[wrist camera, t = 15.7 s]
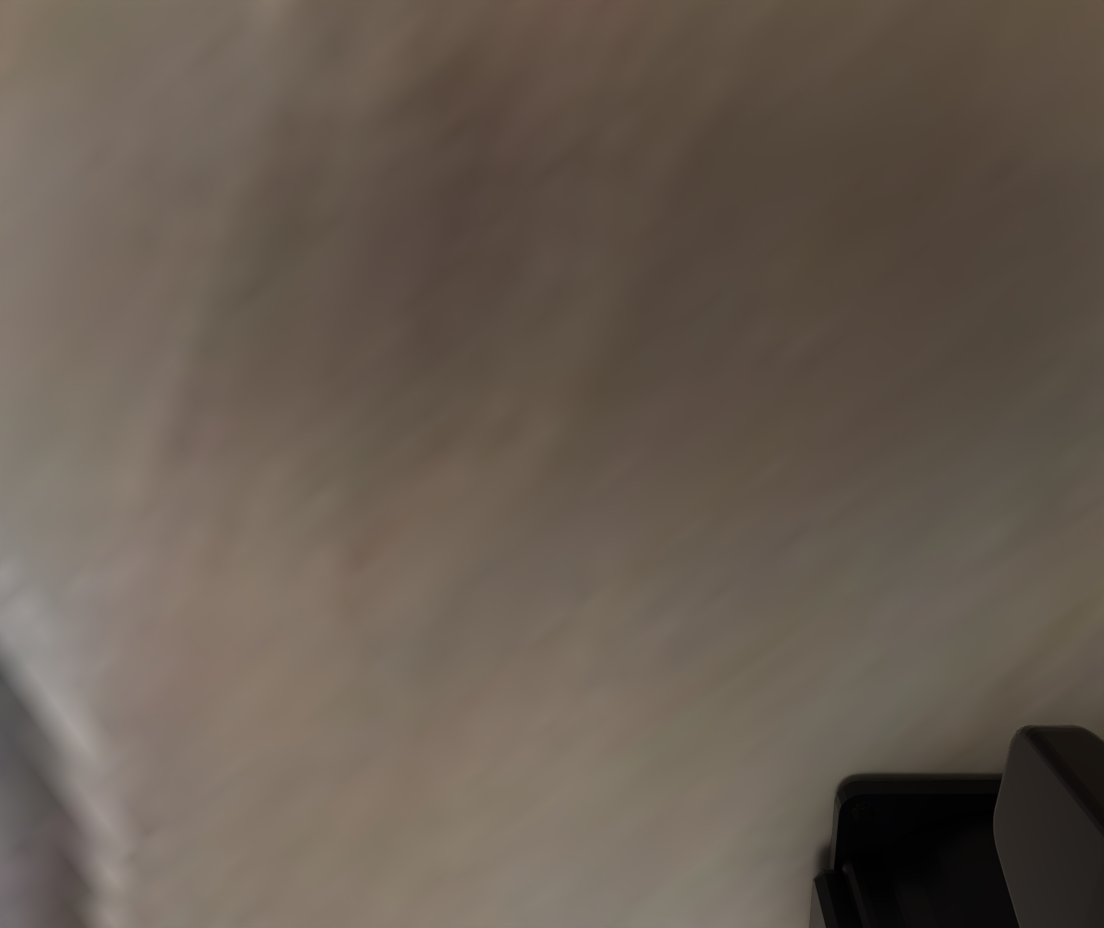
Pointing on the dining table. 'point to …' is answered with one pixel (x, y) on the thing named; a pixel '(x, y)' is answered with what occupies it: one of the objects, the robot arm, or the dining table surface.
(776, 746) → the dining table surface
